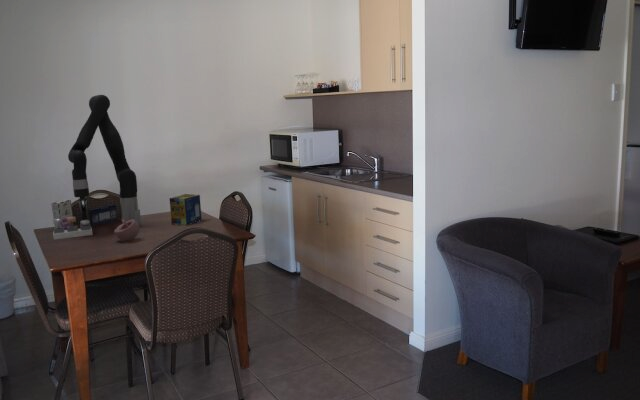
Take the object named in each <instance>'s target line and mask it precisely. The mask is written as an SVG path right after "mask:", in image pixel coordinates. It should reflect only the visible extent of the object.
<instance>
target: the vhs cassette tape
mask: <svg viewBox="0 0 640 400" xmlns="http://www.w3.org/2000/svg"><path fill="white" fill-rule="evenodd" d="M87 212H88V213H87V214H88V220H89V224H90V226H91V227H96V226H100V225H101V226H102V225H104V224H109V223H110V224H111V223H112V222H117V221H118V220H119V219H118V218H119V217H118V210H117V204H109V205H103V206H100V207H96V208H90V209H88V210H87Z"/></svg>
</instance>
